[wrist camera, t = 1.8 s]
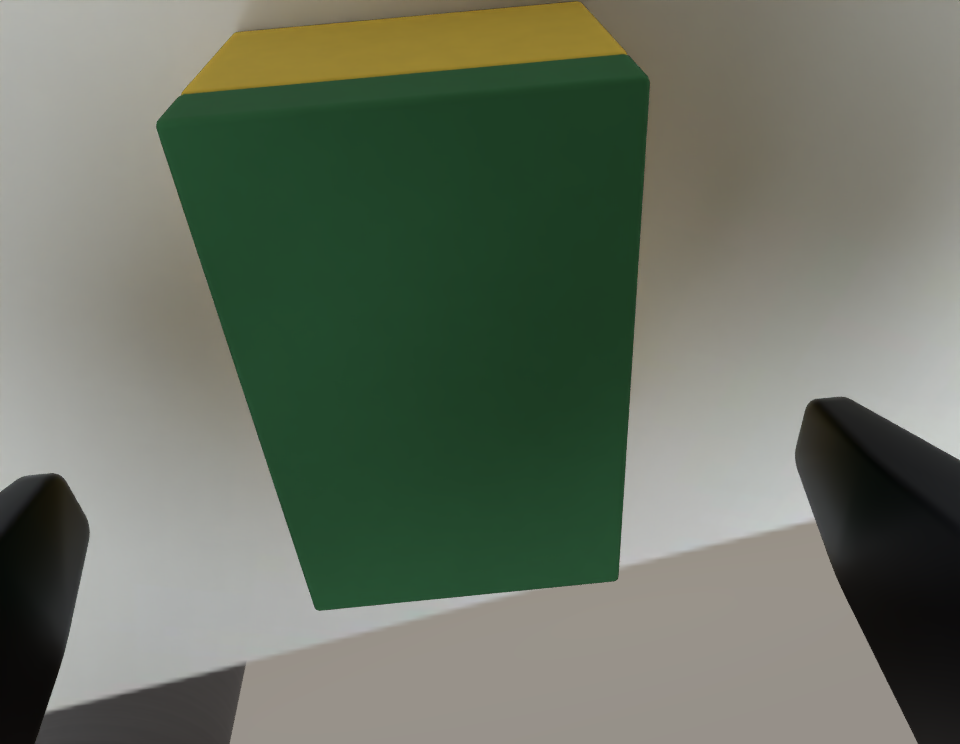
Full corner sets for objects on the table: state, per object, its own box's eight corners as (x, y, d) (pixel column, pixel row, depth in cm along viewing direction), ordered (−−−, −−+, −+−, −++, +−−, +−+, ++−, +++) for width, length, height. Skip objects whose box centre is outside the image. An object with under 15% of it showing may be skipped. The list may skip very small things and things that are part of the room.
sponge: (577, 424, 15) (619, 582, 12) (336, 447, 15) (314, 613, 12) (582, 0, 11) (652, 76, 7) (232, 31, 11) (150, 122, 7)
